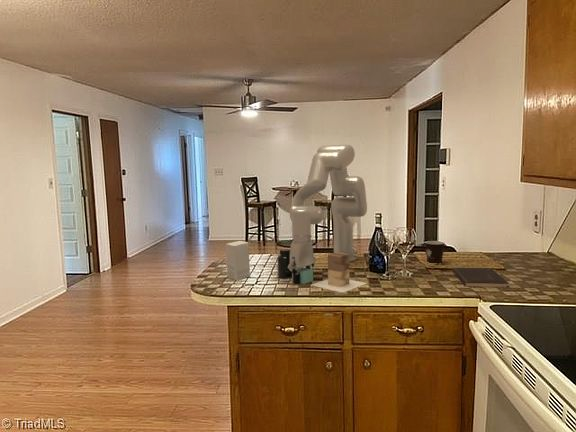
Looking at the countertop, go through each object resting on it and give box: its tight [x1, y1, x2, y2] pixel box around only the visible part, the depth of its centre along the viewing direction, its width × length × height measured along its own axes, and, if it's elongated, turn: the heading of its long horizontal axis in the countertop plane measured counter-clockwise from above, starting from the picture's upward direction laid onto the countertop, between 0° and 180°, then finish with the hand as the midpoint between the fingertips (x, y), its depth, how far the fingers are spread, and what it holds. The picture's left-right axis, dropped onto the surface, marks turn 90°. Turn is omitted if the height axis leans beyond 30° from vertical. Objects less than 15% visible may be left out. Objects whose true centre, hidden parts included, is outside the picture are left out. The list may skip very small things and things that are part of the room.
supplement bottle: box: [277, 248, 292, 279], centre depth 190 cm, size 7×7×12 cm
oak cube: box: [327, 268, 350, 287], centre depth 174 cm, size 6×6×6 cm
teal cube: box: [291, 267, 314, 285], centre depth 180 cm, size 6×6×6 cm
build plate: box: [310, 278, 368, 294], centre depth 174 cm, size 16×16×1 cm
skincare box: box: [225, 240, 251, 281], centre depth 191 cm, size 8×7×16 cm
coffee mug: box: [422, 240, 445, 264], centre depth 209 cm, size 12×9×10 cm
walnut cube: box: [327, 252, 350, 272], centre depth 173 cm, size 6×6×6 cm
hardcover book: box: [452, 267, 510, 288], centre depth 180 cm, size 16×23×2 cm
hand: (302, 281), depth 180 cm, fingers open, 6 cm apart
